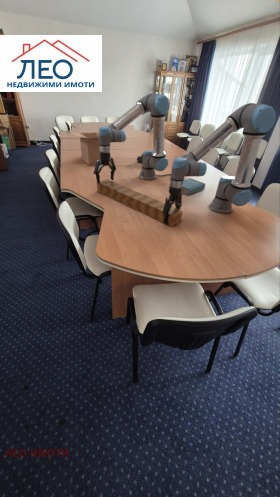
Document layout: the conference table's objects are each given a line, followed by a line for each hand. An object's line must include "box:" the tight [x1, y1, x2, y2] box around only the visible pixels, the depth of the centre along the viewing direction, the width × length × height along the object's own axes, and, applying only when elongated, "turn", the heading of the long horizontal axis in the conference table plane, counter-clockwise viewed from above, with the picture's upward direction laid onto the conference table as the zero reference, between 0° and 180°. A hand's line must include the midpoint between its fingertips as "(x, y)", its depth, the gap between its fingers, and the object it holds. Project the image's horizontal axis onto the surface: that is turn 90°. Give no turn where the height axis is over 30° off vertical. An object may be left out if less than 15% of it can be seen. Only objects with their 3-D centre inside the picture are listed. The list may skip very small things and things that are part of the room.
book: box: [181, 177, 206, 196], centre depth 186 cm, size 23×16×5 cm
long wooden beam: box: [96, 178, 183, 227], centre depth 155 cm, size 72×10×7 cm, turn 48°
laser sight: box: [136, 153, 143, 164], centre depth 240 cm, size 10×22×10 cm, turn 78°
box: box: [70, 129, 100, 166], centre depth 229 cm, size 44×36×27 cm
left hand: (105, 181), depth 168 cm, fingers open, 13 cm apart
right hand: (170, 220), depth 141 cm, fingers closed on long wooden beam, 10 cm apart
